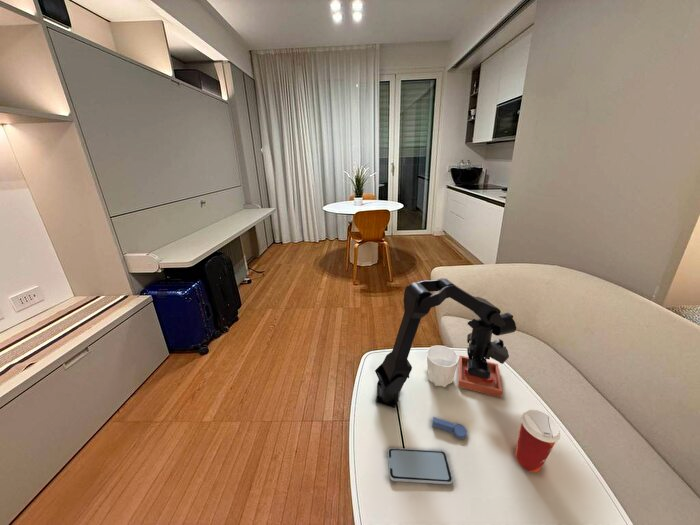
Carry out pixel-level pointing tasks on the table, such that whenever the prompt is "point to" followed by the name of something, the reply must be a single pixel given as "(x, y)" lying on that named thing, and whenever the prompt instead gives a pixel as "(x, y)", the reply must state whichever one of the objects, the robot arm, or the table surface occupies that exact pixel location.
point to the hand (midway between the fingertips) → (474, 373)
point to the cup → (441, 365)
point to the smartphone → (419, 466)
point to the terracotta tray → (477, 383)
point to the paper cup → (536, 439)
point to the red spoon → (479, 377)
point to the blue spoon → (450, 427)
